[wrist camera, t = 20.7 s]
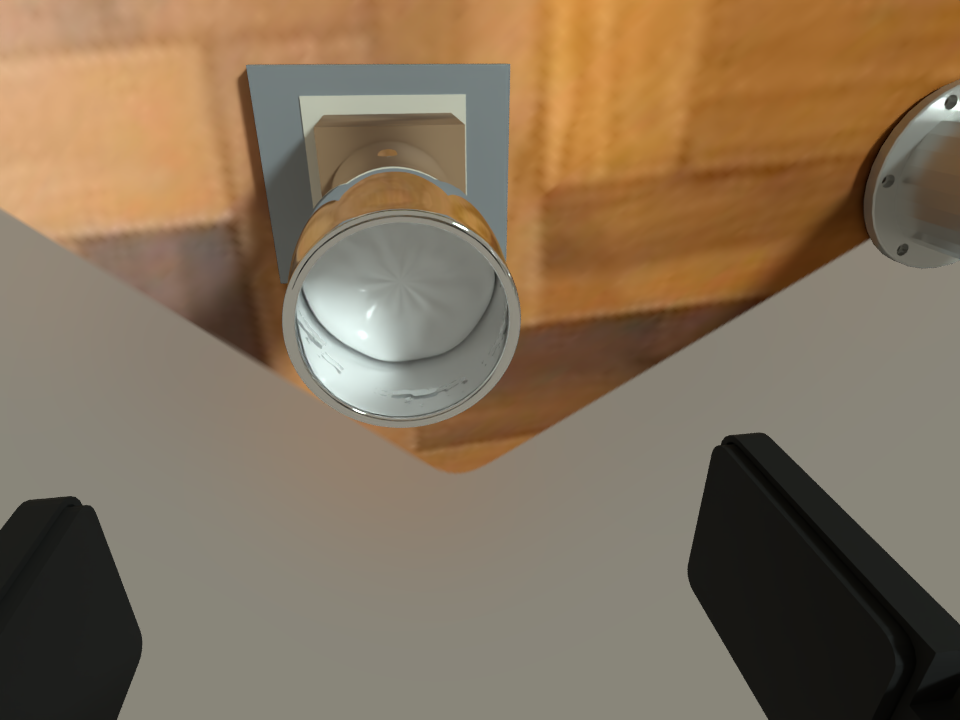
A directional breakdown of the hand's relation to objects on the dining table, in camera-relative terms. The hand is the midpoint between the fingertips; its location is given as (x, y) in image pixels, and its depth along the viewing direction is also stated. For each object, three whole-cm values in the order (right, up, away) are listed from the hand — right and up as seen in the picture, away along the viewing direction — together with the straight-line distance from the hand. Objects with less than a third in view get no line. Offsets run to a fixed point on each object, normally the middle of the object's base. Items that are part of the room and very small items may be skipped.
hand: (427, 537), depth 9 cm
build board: (-5, +14, +27) cm, 30 cm away
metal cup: (-4, +10, +21) cm, 23 cm away
